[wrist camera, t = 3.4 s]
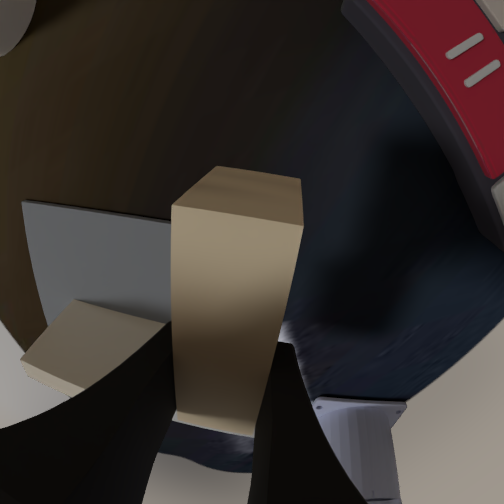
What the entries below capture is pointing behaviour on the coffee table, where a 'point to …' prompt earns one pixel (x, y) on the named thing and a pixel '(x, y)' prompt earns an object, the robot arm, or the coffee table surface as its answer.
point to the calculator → (450, 85)
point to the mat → (99, 260)
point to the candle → (14, 22)
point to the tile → (85, 346)
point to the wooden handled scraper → (230, 292)
